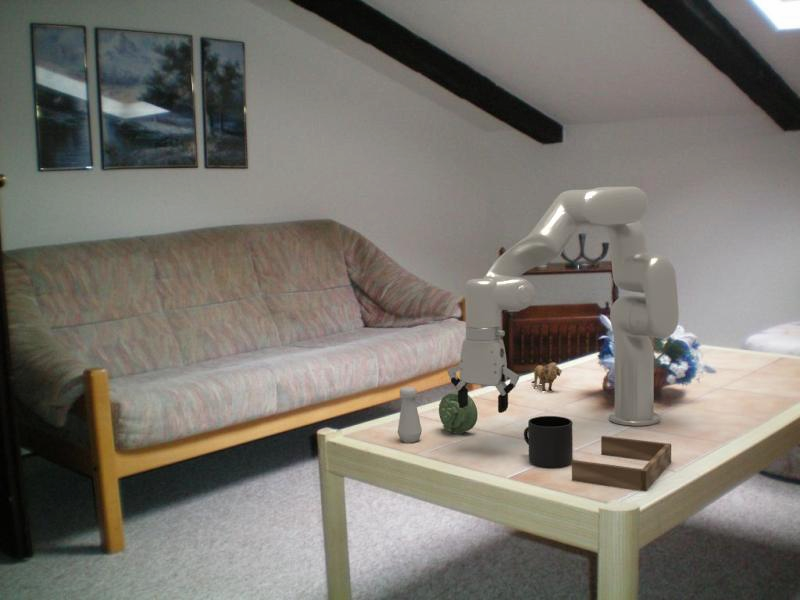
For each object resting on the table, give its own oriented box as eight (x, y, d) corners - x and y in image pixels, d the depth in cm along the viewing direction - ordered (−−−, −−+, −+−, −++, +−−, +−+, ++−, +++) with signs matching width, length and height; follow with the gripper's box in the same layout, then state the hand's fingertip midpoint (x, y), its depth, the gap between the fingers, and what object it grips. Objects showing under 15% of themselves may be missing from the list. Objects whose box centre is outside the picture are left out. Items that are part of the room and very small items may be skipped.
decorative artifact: (478, 434, 212) (477, 394, 211) (461, 441, 207) (459, 400, 206) (445, 427, 219) (444, 389, 217) (428, 434, 213) (427, 394, 212)
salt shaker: (394, 439, 210) (392, 386, 209) (415, 435, 212) (414, 383, 211) (404, 445, 205) (402, 391, 203) (426, 441, 207) (424, 388, 205)
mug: (537, 450, 197) (537, 411, 196) (581, 461, 189) (581, 420, 187) (510, 459, 191) (510, 419, 190) (554, 471, 182) (554, 429, 181)
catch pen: (602, 453, 193) (602, 435, 193) (671, 461, 186) (671, 443, 185) (571, 480, 176) (571, 461, 176) (645, 491, 169) (645, 471, 168)
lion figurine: (564, 393, 250) (564, 363, 249) (548, 395, 248) (547, 364, 247) (539, 383, 264) (538, 354, 263) (523, 385, 262) (523, 356, 261)
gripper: (525, 334, 193) (524, 409, 195) (455, 329, 201) (456, 401, 203) (511, 339, 186) (511, 417, 188) (440, 334, 195) (441, 408, 197)
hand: (482, 409), depth 196 cm, fingers open, 9 cm apart
